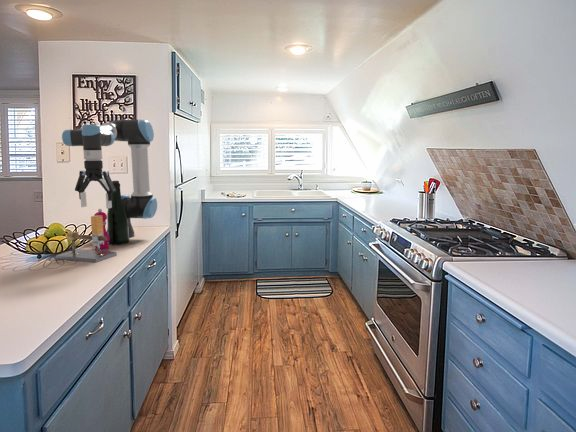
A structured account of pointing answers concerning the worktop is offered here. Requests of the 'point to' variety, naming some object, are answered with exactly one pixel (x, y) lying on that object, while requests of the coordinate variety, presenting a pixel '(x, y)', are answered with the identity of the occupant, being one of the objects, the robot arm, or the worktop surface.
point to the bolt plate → (86, 255)
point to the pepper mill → (105, 245)
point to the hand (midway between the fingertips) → (96, 207)
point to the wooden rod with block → (75, 235)
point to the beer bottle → (117, 219)
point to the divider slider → (97, 230)
